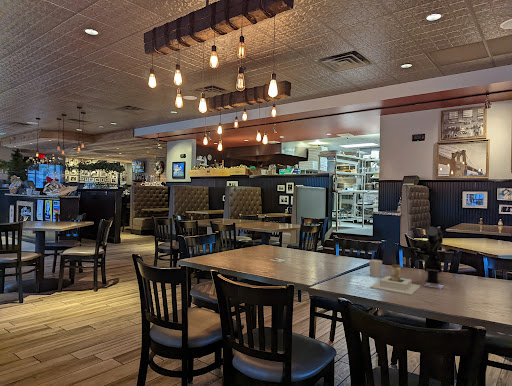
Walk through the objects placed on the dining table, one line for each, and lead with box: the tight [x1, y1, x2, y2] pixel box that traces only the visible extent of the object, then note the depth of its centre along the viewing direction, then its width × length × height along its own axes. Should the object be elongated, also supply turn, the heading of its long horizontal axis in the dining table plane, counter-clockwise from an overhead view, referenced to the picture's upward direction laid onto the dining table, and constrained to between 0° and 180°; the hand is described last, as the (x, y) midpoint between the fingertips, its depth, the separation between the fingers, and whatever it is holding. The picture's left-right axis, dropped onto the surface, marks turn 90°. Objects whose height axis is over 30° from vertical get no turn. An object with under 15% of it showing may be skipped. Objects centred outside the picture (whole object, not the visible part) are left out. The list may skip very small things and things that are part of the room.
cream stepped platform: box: [369, 275, 422, 296], centre depth 202 cm, size 24×22×4 cm
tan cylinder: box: [391, 264, 402, 282], centre depth 201 cm, size 5×5×12 cm
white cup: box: [369, 259, 383, 278], centre depth 229 cm, size 8×8×10 cm
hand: (417, 264), depth 205 cm, fingers open, 9 cm apart
